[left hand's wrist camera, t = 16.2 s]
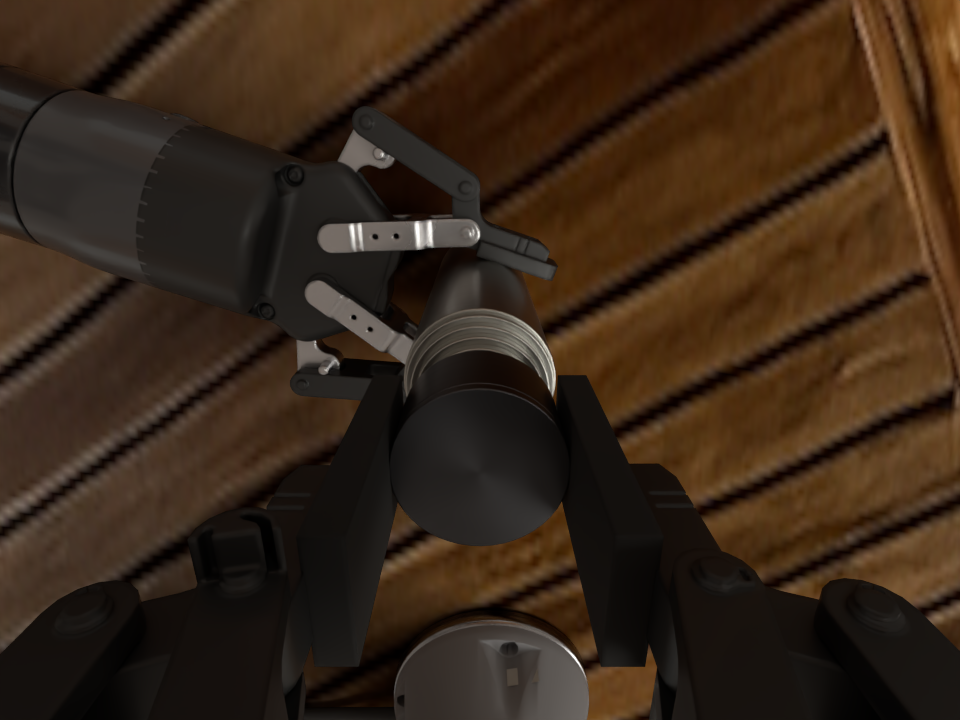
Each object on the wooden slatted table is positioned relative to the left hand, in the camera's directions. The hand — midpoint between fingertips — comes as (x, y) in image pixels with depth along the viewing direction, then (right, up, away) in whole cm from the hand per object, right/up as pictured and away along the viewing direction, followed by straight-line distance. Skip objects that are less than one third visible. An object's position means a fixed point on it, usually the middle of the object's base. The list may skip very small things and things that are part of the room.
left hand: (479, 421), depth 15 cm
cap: (0, -1, -2) cm, 2 cm away
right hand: (+2, +4, +12) cm, 12 cm away
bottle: (0, +7, +18) cm, 19 cm away
